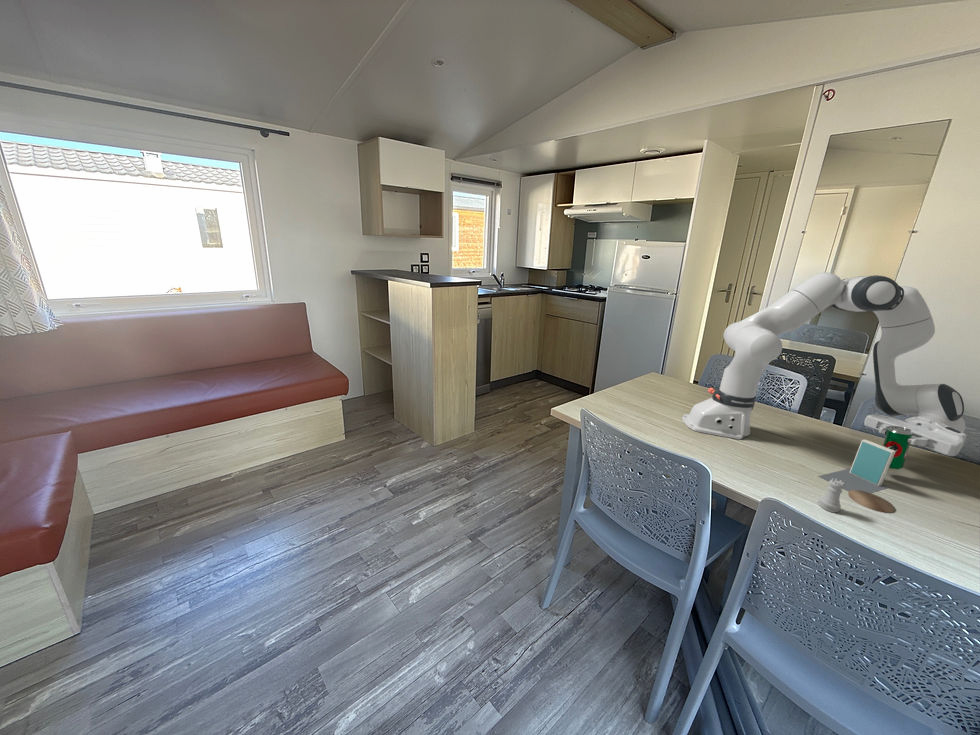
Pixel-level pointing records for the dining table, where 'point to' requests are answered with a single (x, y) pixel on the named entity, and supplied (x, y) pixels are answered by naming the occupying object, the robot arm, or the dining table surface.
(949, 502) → the dining table surface
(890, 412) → the robot arm
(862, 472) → the glazed tile
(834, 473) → the rubber mat
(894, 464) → the soda can
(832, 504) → the rook chess piece
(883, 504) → the coaster
